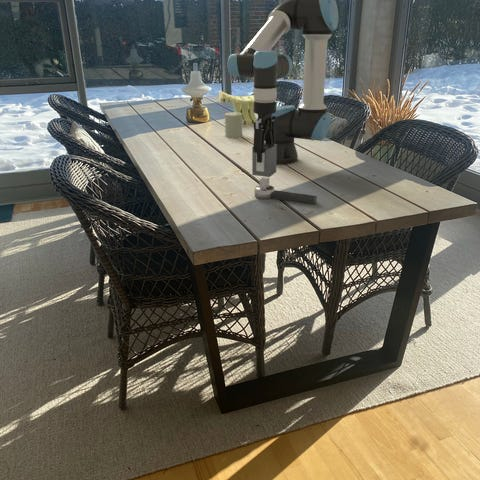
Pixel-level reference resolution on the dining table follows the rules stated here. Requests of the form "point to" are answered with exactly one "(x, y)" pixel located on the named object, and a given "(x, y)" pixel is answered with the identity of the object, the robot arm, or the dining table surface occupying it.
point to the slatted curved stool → (241, 106)
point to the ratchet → (281, 193)
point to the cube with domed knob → (266, 160)
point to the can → (233, 124)
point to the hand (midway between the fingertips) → (264, 168)
